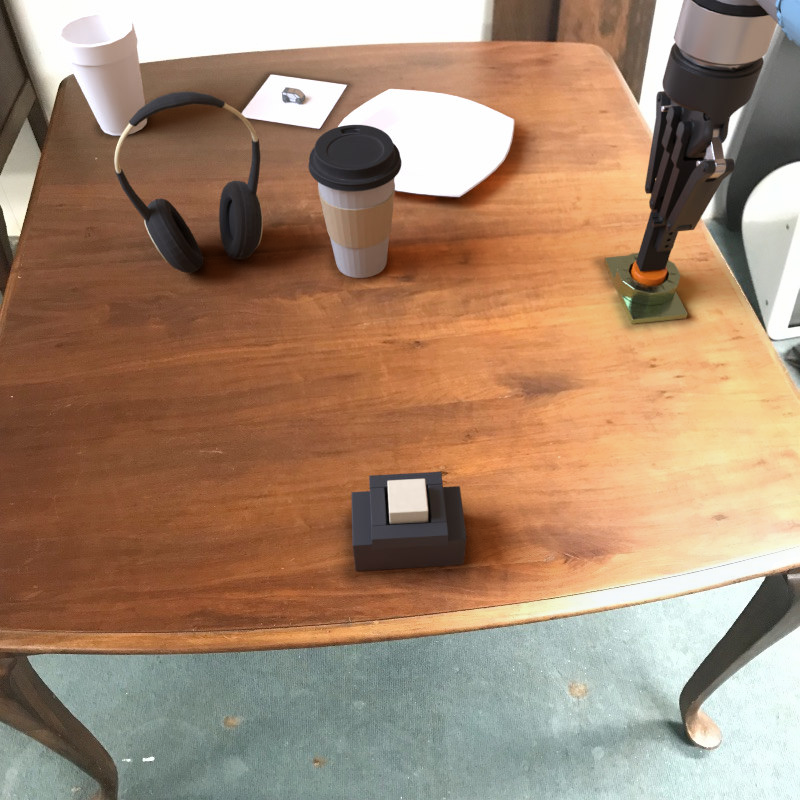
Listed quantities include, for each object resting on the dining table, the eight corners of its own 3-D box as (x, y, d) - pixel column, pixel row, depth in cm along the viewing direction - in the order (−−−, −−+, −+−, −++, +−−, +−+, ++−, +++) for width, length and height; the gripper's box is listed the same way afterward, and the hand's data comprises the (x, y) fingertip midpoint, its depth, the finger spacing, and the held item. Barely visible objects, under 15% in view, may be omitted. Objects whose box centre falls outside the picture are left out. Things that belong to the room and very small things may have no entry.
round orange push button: (667, 292, 83) (672, 277, 82) (634, 295, 83) (639, 280, 81) (656, 269, 86) (660, 255, 84) (624, 273, 85) (628, 258, 84)
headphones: (286, 263, 88) (260, 100, 73) (157, 298, 85) (101, 135, 70) (266, 220, 94) (237, 59, 78) (143, 251, 90) (88, 89, 75)
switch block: (688, 318, 82) (695, 301, 80) (629, 324, 82) (634, 307, 80) (656, 257, 89) (662, 239, 87) (601, 262, 88) (605, 245, 86)
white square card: (319, 128, 106) (318, 118, 105) (238, 116, 108) (236, 106, 107) (347, 85, 113) (346, 75, 112) (271, 74, 116) (269, 64, 114)
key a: (425, 490, 62) (425, 478, 61) (427, 522, 61) (428, 510, 59) (387, 492, 62) (387, 480, 61) (389, 524, 60) (389, 513, 59)
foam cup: (92, 108, 110) (60, 15, 100) (159, 102, 111) (133, 9, 101) (87, 145, 104) (52, 50, 94) (156, 138, 105) (130, 43, 95)
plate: (533, 127, 106) (535, 114, 104) (467, 224, 93) (468, 210, 91) (383, 90, 112) (382, 77, 111) (301, 175, 99) (300, 162, 98)
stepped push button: (456, 508, 68) (460, 470, 63) (464, 570, 64) (468, 534, 59) (354, 514, 67) (350, 476, 63) (355, 576, 64) (351, 540, 59)
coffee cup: (370, 225, 93) (364, 110, 81) (419, 266, 88) (420, 150, 76) (304, 257, 89) (288, 141, 77) (351, 302, 84) (342, 186, 73)
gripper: (797, 85, 60) (707, 304, 79) (731, 10, 69) (663, 224, 87) (704, 93, 60) (635, 311, 78) (649, 16, 68) (598, 230, 86)
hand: (650, 265), depth 83 cm, fingers closed
